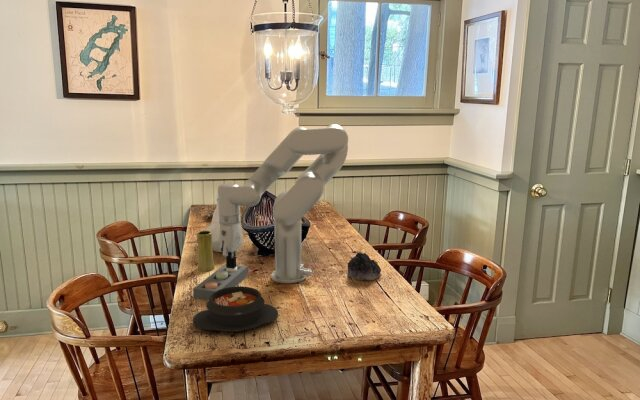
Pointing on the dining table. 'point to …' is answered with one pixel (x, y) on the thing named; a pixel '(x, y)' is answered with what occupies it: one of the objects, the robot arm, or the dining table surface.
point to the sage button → (222, 275)
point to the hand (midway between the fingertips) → (231, 267)
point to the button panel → (220, 282)
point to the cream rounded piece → (231, 269)
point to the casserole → (235, 310)
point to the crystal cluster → (363, 267)
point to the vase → (205, 251)
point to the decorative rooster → (215, 230)
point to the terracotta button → (211, 285)
